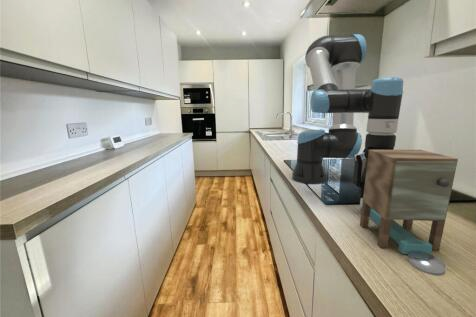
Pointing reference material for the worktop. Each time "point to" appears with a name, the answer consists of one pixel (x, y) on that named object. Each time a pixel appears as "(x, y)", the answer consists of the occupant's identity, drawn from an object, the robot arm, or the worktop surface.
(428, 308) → the worktop surface
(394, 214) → the cabinet
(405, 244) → the teal stepped block
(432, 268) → the silver flat disc
